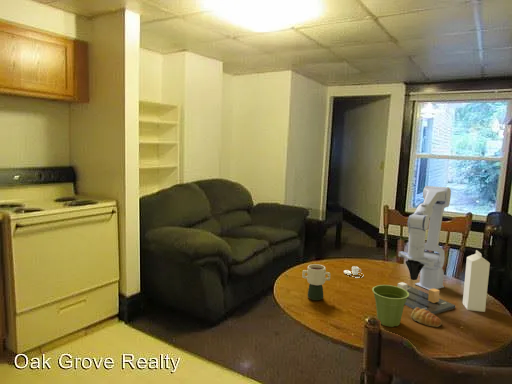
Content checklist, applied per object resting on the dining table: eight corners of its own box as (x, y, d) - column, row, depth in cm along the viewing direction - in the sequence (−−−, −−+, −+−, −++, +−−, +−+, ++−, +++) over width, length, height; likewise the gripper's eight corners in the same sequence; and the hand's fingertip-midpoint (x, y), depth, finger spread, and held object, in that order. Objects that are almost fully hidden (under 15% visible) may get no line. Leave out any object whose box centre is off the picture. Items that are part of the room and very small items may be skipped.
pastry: (444, 324, 124) (445, 313, 124) (436, 330, 120) (436, 319, 119) (417, 314, 131) (418, 304, 131) (408, 320, 127) (409, 309, 127)
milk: (467, 310, 135) (472, 253, 132) (462, 303, 141) (467, 248, 138) (485, 312, 134) (490, 254, 131) (479, 305, 140) (484, 250, 137)
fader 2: (433, 299, 141) (434, 288, 140) (438, 301, 139) (439, 290, 138) (428, 300, 139) (428, 289, 139) (433, 303, 137) (434, 291, 137)
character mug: (329, 296, 146) (330, 265, 144) (329, 303, 139) (330, 271, 137) (302, 293, 148) (303, 263, 146) (300, 300, 141) (301, 268, 139)
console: (407, 287, 156) (407, 284, 156) (455, 308, 137) (455, 304, 136) (381, 293, 149) (382, 290, 149) (428, 316, 130) (429, 312, 130)
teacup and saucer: (341, 274, 172) (341, 266, 171) (350, 271, 177) (351, 263, 176) (357, 280, 165) (357, 271, 165) (366, 276, 171) (367, 267, 170)
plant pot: (367, 313, 131) (369, 283, 130) (401, 315, 130) (403, 285, 128) (374, 329, 119) (376, 297, 118) (411, 332, 118) (414, 299, 117)
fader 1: (402, 292, 147) (402, 282, 146) (406, 294, 145) (407, 284, 144) (396, 293, 145) (397, 283, 145) (401, 296, 143) (402, 285, 143)
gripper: (393, 241, 143) (391, 274, 145) (426, 251, 130) (423, 287, 132) (406, 240, 146) (404, 272, 148) (438, 249, 133) (435, 284, 135)
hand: (413, 279), depth 140 cm, fingers closed
